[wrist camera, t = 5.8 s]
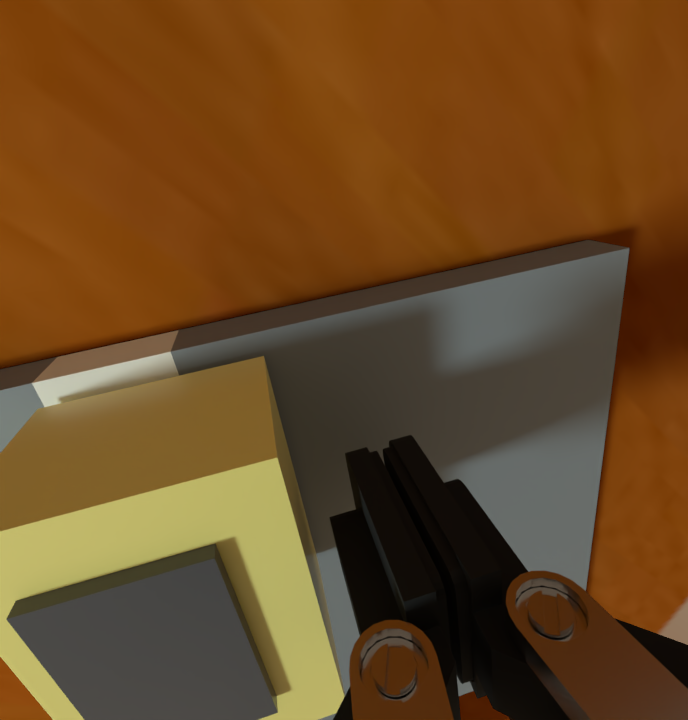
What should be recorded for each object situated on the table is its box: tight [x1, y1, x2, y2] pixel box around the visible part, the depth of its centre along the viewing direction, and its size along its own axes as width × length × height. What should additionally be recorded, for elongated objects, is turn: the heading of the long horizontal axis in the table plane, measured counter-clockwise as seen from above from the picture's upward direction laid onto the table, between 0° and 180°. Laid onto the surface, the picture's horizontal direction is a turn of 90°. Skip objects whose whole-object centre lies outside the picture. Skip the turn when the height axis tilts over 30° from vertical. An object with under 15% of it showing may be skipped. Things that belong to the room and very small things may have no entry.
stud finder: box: [0, 356, 345, 720], centre depth 9 cm, size 5×7×4 cm
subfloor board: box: [0, 240, 629, 720], centre depth 15 cm, size 19×18×2 cm
